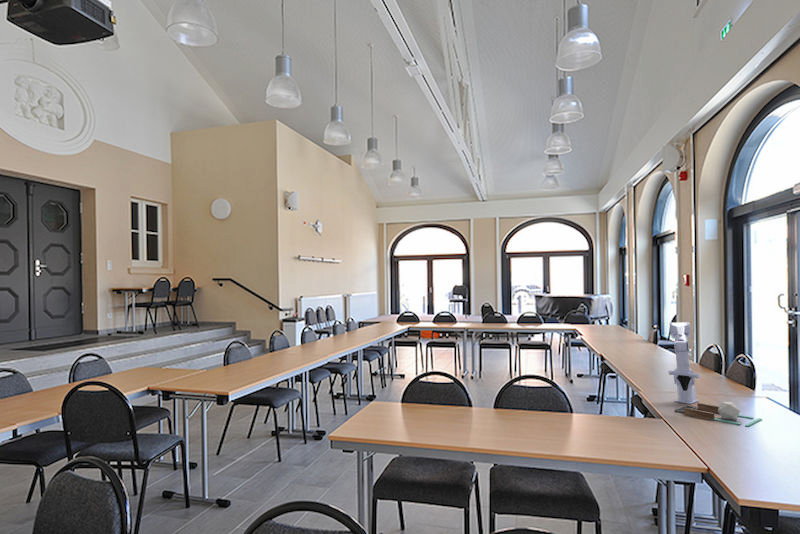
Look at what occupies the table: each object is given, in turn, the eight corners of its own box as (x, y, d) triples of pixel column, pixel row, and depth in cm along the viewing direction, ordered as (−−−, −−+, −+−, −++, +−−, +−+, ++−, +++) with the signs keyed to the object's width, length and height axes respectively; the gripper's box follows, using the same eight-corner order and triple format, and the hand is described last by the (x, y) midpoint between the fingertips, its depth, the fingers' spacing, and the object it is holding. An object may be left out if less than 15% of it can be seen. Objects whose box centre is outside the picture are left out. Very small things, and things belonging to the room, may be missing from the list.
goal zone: (727, 413, 226) (727, 412, 226) (761, 420, 214) (761, 418, 214) (713, 420, 218) (713, 418, 218) (748, 426, 206) (748, 425, 206)
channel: (699, 408, 237) (698, 402, 237) (727, 413, 226) (726, 407, 226) (684, 414, 229) (684, 408, 229) (713, 420, 218) (712, 413, 218)
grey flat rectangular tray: (686, 407, 241) (686, 405, 241) (696, 408, 237) (696, 406, 237) (674, 411, 235) (674, 409, 235) (685, 413, 230) (684, 411, 230)
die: (739, 418, 220) (724, 400, 226) (748, 414, 213) (732, 395, 218) (725, 425, 220) (710, 407, 225) (733, 421, 213) (717, 402, 218)
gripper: (664, 363, 240) (666, 389, 240) (694, 366, 228) (696, 394, 227) (671, 361, 244) (673, 387, 243) (701, 364, 232) (703, 391, 231)
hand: (685, 390), depth 236 cm, fingers closed
